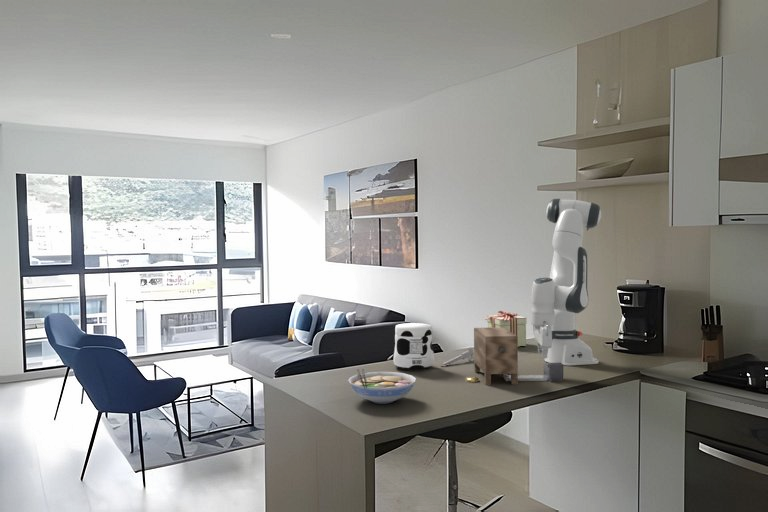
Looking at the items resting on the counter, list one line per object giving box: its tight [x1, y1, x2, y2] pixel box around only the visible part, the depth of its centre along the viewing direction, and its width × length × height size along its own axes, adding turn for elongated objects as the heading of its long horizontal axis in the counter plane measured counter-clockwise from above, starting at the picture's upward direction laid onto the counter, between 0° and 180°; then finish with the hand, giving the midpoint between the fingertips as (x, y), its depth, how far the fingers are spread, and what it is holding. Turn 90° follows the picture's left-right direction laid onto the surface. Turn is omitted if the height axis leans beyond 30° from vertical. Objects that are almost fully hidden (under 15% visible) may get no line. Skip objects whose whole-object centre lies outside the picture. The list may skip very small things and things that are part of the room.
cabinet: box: [473, 327, 519, 386], centre depth 226 cm, size 12×23×18 cm, turn 2°
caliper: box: [441, 347, 474, 365], centre depth 254 cm, size 20×1×6 cm, turn 130°
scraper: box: [502, 362, 564, 383], centre depth 224 cm, size 22×9×6 cm, turn 88°
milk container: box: [392, 322, 435, 371], centre depth 245 cm, size 17×17×18 cm
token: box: [465, 376, 480, 383], centre depth 222 cm, size 5×5×1 cm
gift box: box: [484, 310, 527, 347], centre depth 295 cm, size 17×18×17 cm
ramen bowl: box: [347, 368, 417, 405], centre depth 195 cm, size 25×23×8 cm
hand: (542, 355), depth 226 cm, fingers open, 8 cm apart
